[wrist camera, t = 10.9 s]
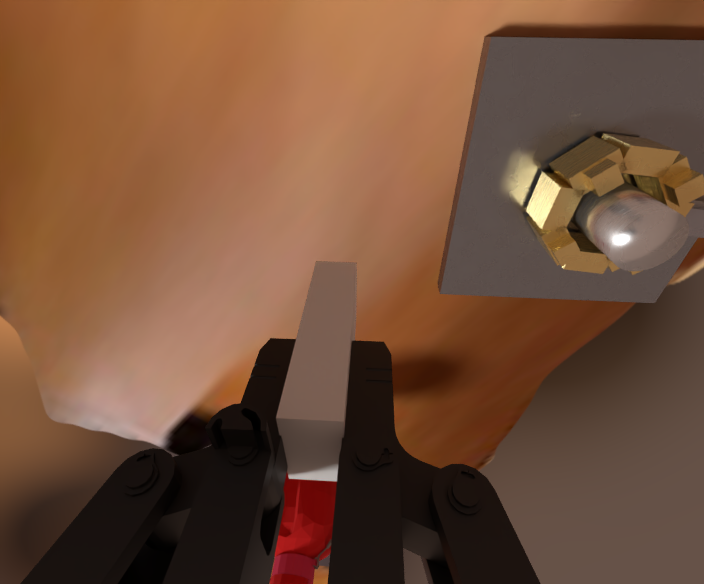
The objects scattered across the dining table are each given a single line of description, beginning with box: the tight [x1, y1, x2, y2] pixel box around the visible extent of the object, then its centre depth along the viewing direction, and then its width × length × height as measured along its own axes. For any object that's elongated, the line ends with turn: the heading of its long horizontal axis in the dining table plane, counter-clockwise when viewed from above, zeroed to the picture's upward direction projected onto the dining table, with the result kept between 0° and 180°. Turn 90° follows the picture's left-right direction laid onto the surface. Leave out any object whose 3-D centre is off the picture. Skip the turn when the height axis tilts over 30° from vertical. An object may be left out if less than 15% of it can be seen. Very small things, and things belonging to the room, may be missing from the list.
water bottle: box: [270, 473, 337, 584], centre depth 45 cm, size 9×11×25 cm
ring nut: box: [526, 133, 704, 275], centre depth 31 cm, size 21×11×6 cm, turn 84°
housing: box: [438, 37, 704, 303], centre depth 30 cm, size 24×24×11 cm
